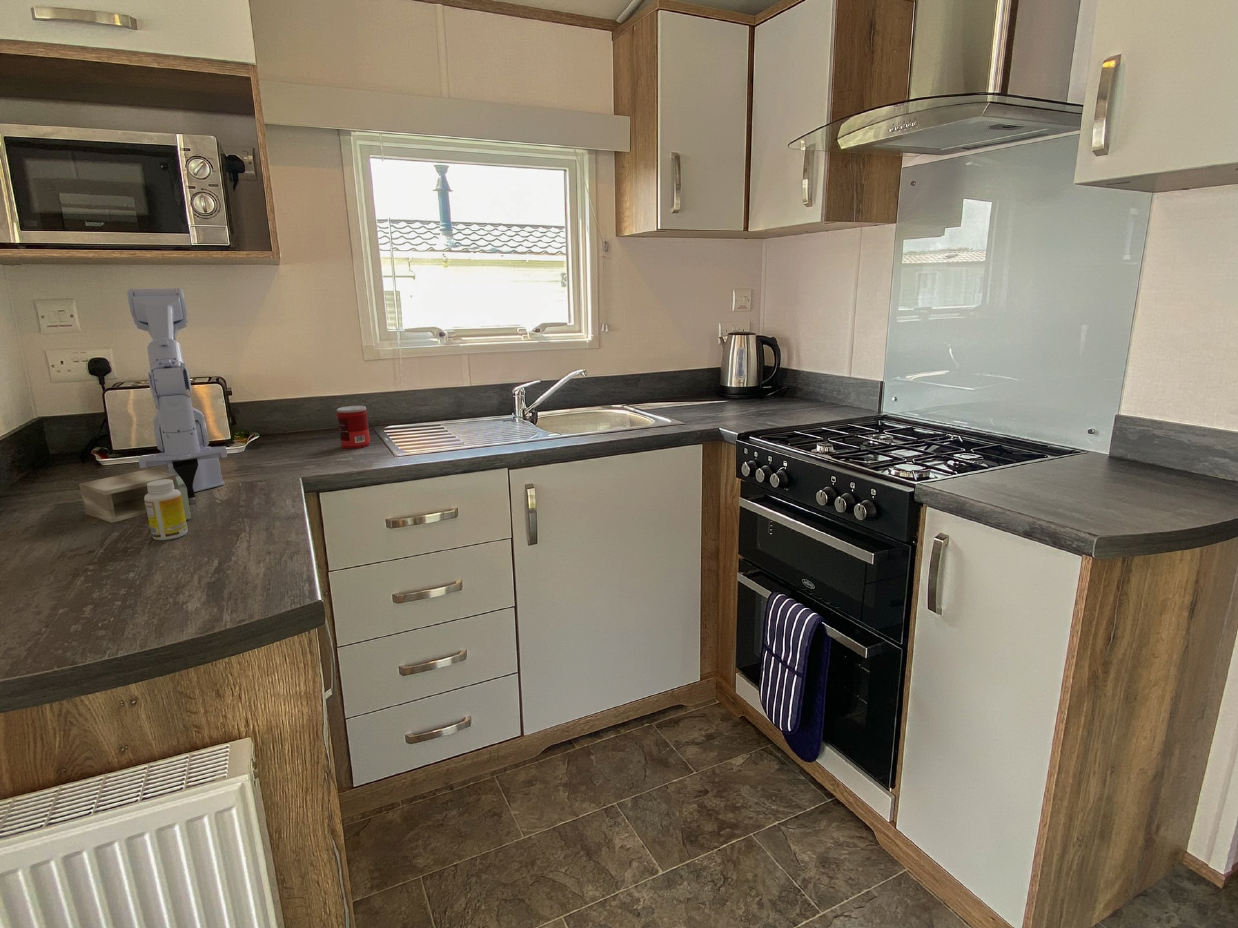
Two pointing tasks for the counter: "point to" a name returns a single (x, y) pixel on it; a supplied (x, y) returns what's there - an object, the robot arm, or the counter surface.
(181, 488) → the door
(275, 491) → the counter surface
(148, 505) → the supplement bottle
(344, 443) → the canned food
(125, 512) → the cabinet
